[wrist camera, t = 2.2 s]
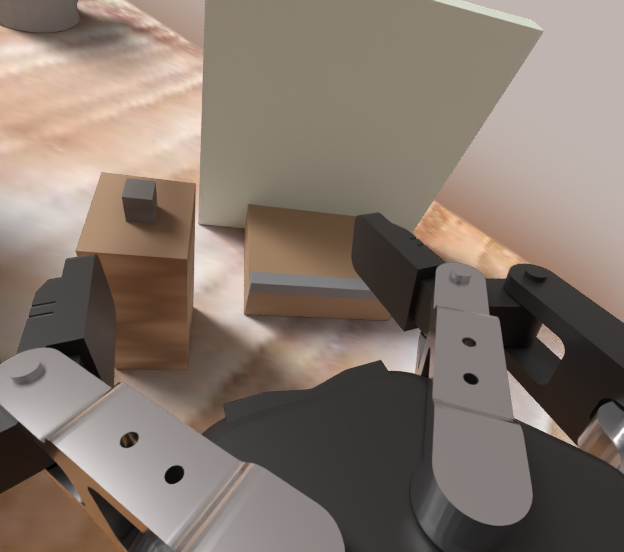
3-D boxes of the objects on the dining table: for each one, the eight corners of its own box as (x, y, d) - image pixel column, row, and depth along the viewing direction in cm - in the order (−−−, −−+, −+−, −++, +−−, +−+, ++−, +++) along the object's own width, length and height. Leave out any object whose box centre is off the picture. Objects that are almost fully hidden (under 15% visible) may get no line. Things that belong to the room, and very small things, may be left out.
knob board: (116, 369, 25) (66, 225, 15) (129, 304, 28) (96, 145, 18) (187, 369, 27) (187, 236, 16) (193, 306, 29) (195, 159, 19)
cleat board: (189, 312, 29) (192, 15, 14) (199, 211, 35) (208, -71, 20) (429, 322, 34) (627, 113, 19) (401, 232, 40) (533, 20, 25)
